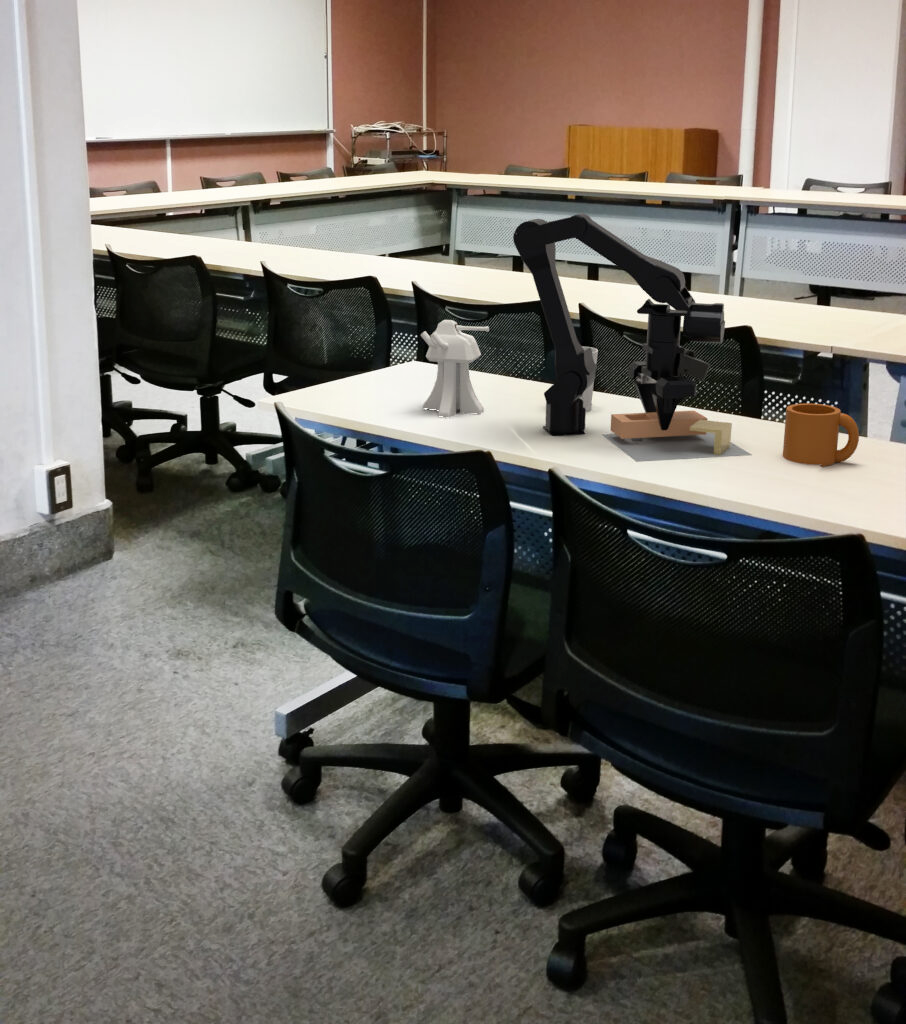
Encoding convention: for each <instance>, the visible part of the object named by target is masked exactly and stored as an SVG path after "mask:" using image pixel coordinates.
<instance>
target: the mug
mask: <svg viewBox="0 0 906 1024" xmlns="http://www.w3.org/2000/svg"><path fill="white" fill-rule="evenodd" d="M841 411H842V410H841V409H840V408H838V407H836V406H833V405H828V404H822V403H795V404H790V405H787V407H786V410H785V423H784V434H783V444H782V445H783V446H782V449H783V450H782V457H783V458H784V459H786V461H790V462H793V463H798V464H802V465H803V464H805V465H816V466H817V465H819V466H820V467H827V465H828V466H832V465H834V464H835V463H841V462H844V461H845V462H846V460H848V459H849V458H851V457H852V456H853V454H854V453H855V452H856V449H858V445H859V441H860V432H859V431H860V430H859V427H858V425H857V423H856V421H855V420H854V419H853V417H851V416H850V415H848V414H846V413H843V412H841ZM840 426H841V427H842V428H844V429H845V430H846V431H847V436H848V438H847V442H846V444H845V446H844V447H842V448H841V449H838V442H839V433H840V432H839V431H840ZM833 463H834V464H833Z"/></svg>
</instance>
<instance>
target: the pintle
mask: <svg viewBox="0 0 906 1024" xmlns="http://www.w3.org/2000/svg"><path fill="white" fill-rule="evenodd" d="M631 440H632V441H642V440H643V438H631Z"/></svg>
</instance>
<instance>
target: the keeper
mask: <svg viewBox="0 0 906 1024" xmlns="http://www.w3.org/2000/svg"><path fill="white" fill-rule="evenodd" d="M732 426H733V425H732V422H726V421H725V422H724V421H723V422H722V421H716V420H708V419H707V420H699V421H697V422H696V423H695V424H693V425H692V426H690V430H692V431H700V432H708V433H715V441H714V455H721V454H723V453H724V452H725V451H726V450H727V449H729V448H730V442H732V441H731V439H732V438H731V437H732Z"/></svg>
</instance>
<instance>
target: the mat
mask: <svg viewBox="0 0 906 1024" xmlns="http://www.w3.org/2000/svg"><path fill="white" fill-rule="evenodd" d="M601 436H602V437H604V438H605V439H606V440H608V441H609V442H610V443H612V444H613V445H614V446H616V447H617V448H618V449H620V450H621V451H622V452H623V453H625V455H627V456H629V458H631V459H633V460H634V461H635V462H637V463H638V462H640V463H641V462H654V461H670V460H671V461H672V460H690V459H704V458H706V459H707V458H709V459H711V458H724V457H741V456H742V457H743V456H744V457H745V456H752V455H753V454H752V453H750V452H748V451H746V449H743V448H741V447H740V446H738V445H736V444H735V443H733V442H732V441H730V448H729V449H727V450H726V451H725V452H724V453H723V454H721V455H714V441H715V433H708V432H706V434H705V435H685V436H665V437H646V438H643V440H642V441H632V440H631V438H626V439H621V438H620V437H619V436H617V435H616V434H615V433H606V434H605V433H603V434H601Z"/></svg>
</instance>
